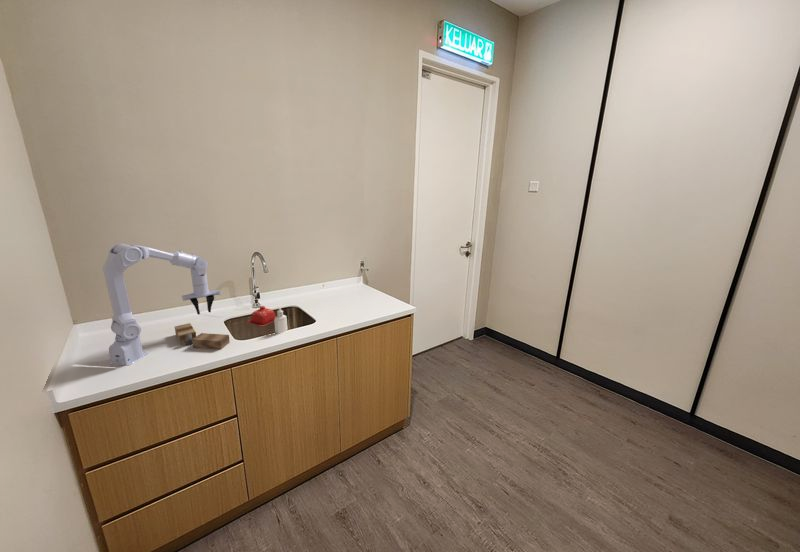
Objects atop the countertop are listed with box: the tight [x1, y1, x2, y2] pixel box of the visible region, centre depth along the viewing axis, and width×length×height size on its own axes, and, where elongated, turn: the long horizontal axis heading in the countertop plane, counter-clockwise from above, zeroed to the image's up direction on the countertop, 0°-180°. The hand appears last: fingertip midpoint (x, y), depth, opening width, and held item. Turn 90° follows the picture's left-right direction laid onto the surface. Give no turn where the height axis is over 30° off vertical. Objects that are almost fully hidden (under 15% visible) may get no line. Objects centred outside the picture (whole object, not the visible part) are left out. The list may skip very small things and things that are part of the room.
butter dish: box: [246, 305, 277, 327], centre depth 164 cm, size 12×12×8 cm
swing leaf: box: [174, 323, 197, 346], centre depth 144 cm, size 15×6×4 cm, turn 41°
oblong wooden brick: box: [192, 332, 230, 350], centre depth 139 cm, size 12×6×4 cm, turn 86°
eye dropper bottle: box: [273, 307, 288, 334], centre depth 152 cm, size 4×6×12 cm
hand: (204, 312), depth 150 cm, fingers open, 4 cm apart
